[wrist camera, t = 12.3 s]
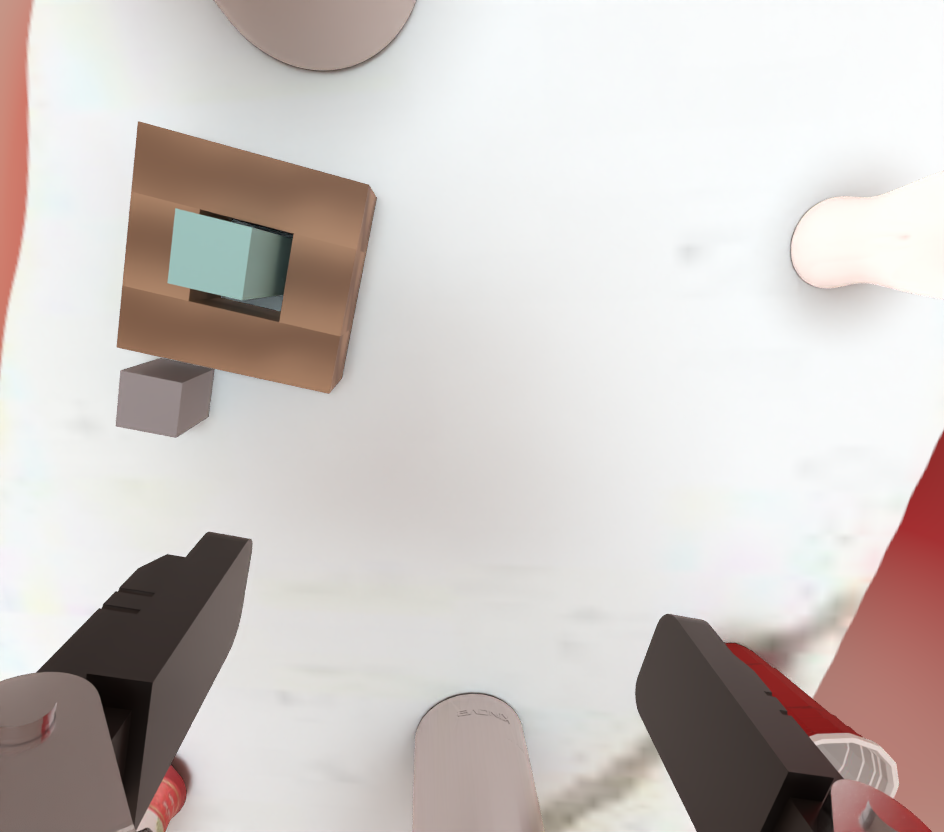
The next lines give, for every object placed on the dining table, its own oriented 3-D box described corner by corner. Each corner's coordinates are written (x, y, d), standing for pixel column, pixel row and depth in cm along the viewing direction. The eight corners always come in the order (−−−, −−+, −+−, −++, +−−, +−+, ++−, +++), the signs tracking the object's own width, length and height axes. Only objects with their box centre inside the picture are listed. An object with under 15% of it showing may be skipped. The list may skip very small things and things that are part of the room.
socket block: (341, 378, 37) (329, 393, 32) (158, 337, 35) (116, 347, 30) (376, 197, 34) (368, 184, 29) (180, 144, 33) (138, 121, 28)
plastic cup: (645, 717, 47) (718, 863, 35) (684, 609, 44) (776, 727, 33) (757, 731, 48) (863, 876, 36) (801, 628, 46) (929, 747, 34)
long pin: (300, 240, 35) (252, 227, 25) (291, 293, 35) (242, 300, 26) (245, 227, 34) (175, 208, 24) (238, 281, 35) (167, 283, 25)
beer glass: (772, 288, 38) (987, 296, 23) (798, 183, 36) (1046, 122, 22) (862, 299, 39) (1123, 314, 24) (891, 197, 37) (1190, 146, 23)
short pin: (208, 416, 37) (176, 437, 32) (156, 406, 36) (115, 426, 32) (214, 368, 36) (182, 382, 31) (161, 357, 36) (120, 370, 31)
